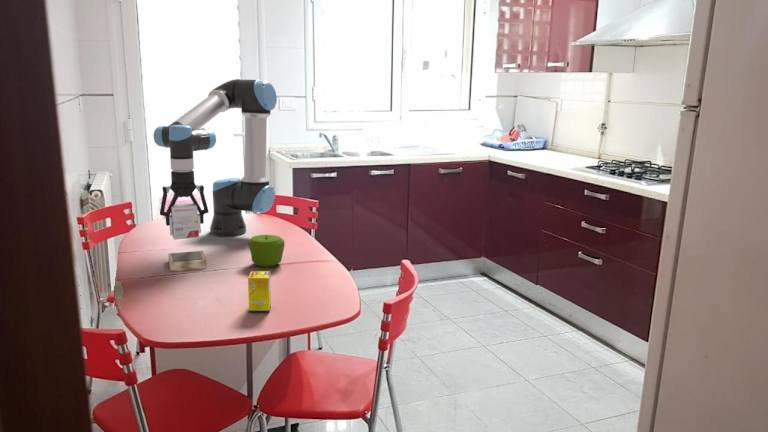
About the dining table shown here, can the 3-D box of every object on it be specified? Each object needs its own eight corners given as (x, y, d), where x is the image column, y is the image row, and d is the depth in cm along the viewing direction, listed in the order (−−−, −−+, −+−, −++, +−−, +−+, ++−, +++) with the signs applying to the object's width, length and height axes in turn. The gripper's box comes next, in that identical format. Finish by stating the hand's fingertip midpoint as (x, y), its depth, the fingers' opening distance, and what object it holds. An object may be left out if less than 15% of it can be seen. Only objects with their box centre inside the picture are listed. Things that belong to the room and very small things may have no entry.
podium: (202, 258, 223) (202, 250, 222) (206, 268, 212) (205, 259, 212) (168, 261, 219) (168, 252, 218) (170, 271, 208) (169, 262, 207)
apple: (290, 262, 221) (290, 233, 218) (271, 272, 210) (270, 241, 208) (262, 257, 226) (262, 228, 224) (242, 266, 215) (241, 236, 213)
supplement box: (251, 305, 180) (250, 271, 178) (271, 305, 181) (270, 270, 178) (248, 313, 174) (247, 277, 172) (269, 313, 175) (268, 277, 172)
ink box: (197, 234, 217) (195, 202, 215) (199, 237, 213) (197, 205, 210) (171, 236, 214) (169, 203, 211) (173, 240, 209) (171, 206, 206)
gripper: (213, 167, 215) (215, 228, 220) (148, 169, 207) (152, 232, 212) (215, 171, 208) (218, 233, 213) (149, 172, 200) (153, 238, 205)
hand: (185, 233), depth 213 cm, fingers closed on ink box, 9 cm apart
